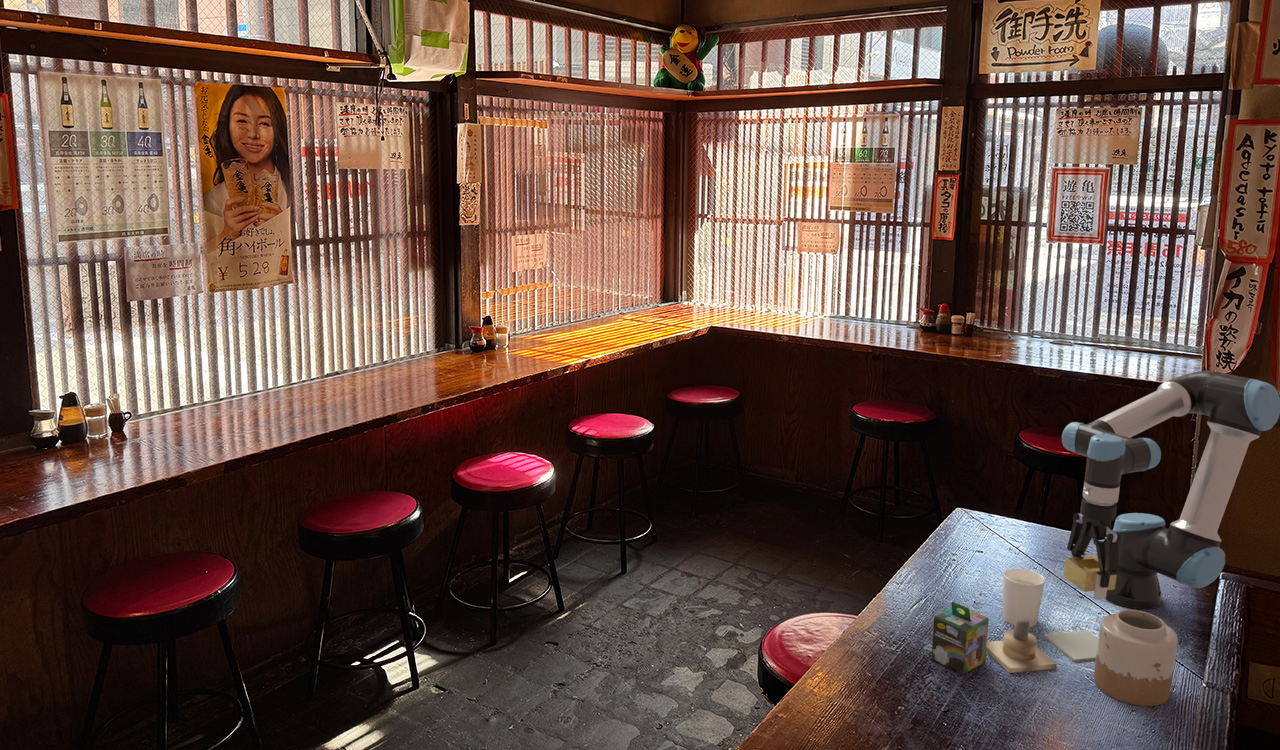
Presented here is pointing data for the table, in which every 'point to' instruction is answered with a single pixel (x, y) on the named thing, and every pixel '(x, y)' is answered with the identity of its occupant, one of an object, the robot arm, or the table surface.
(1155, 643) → the vase
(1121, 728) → the table surface
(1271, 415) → the robot arm
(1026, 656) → the stand
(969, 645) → the chalk box
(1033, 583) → the candle holder
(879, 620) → the table surface
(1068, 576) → the square wooden frame
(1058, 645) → the felt mat
